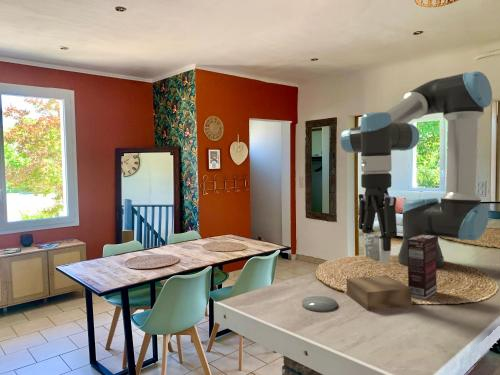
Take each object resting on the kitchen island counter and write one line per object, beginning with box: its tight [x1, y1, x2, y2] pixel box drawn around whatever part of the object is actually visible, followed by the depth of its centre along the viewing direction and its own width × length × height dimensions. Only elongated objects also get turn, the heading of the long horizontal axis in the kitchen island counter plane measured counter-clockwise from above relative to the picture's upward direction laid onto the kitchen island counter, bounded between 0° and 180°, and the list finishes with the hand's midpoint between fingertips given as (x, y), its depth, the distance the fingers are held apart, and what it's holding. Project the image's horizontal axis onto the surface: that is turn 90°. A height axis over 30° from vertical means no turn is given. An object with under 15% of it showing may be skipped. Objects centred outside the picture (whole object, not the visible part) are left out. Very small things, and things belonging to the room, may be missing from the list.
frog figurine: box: [362, 233, 379, 262], centre depth 101 cm, size 6×7×7 cm
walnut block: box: [346, 274, 413, 312], centre depth 101 cm, size 12×12×5 cm
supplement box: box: [407, 235, 438, 300], centre depth 105 cm, size 9×5×16 cm, turn 135°
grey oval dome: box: [301, 295, 338, 313], centre depth 99 cm, size 9×9×1 cm
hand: (376, 259), depth 101 cm, fingers closed on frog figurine, 6 cm apart
